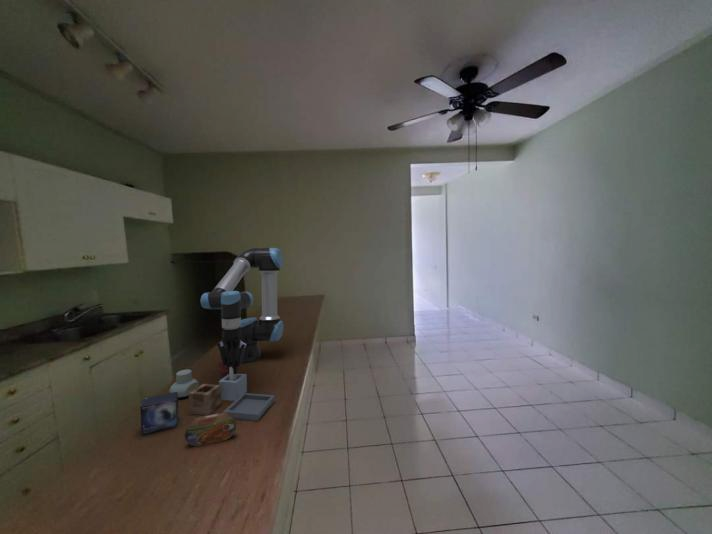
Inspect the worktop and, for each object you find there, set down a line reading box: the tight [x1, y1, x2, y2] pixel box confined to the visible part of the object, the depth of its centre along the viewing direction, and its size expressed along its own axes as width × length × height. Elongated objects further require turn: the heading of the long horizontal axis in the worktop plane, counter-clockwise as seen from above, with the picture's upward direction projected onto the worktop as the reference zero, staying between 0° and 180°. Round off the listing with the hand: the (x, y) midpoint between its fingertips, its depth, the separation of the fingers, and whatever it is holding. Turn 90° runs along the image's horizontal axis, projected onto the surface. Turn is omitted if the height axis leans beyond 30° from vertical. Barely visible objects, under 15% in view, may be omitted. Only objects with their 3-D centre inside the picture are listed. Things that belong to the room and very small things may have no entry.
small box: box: [139, 392, 180, 436], centre depth 100 cm, size 11×6×10 cm, turn 118°
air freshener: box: [169, 368, 200, 398], centre depth 123 cm, size 11×8×10 cm
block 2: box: [218, 373, 248, 402], centre depth 121 cm, size 8×8×8 cm
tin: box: [184, 412, 237, 447], centre depth 92 cm, size 15×3×8 cm, turn 108°
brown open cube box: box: [188, 383, 222, 416], centre depth 111 cm, size 8×8×8 cm
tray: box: [222, 392, 276, 422], centre depth 111 cm, size 14×14×2 cm
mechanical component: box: [216, 358, 241, 380], centre depth 134 cm, size 12×10×10 cm
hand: (233, 380), depth 121 cm, fingers closed
